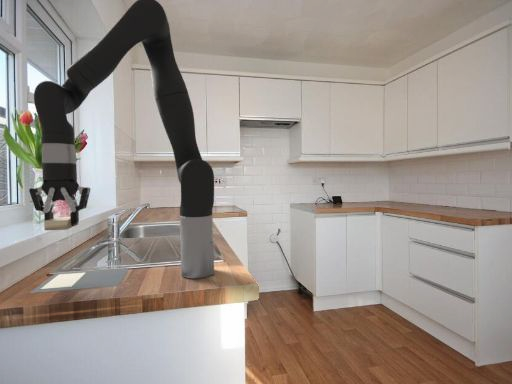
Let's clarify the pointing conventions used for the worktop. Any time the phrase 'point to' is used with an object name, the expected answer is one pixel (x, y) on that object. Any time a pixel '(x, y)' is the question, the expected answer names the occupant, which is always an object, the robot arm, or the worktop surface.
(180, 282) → the worktop surface
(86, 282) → the rubber mat
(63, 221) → the birch tile
